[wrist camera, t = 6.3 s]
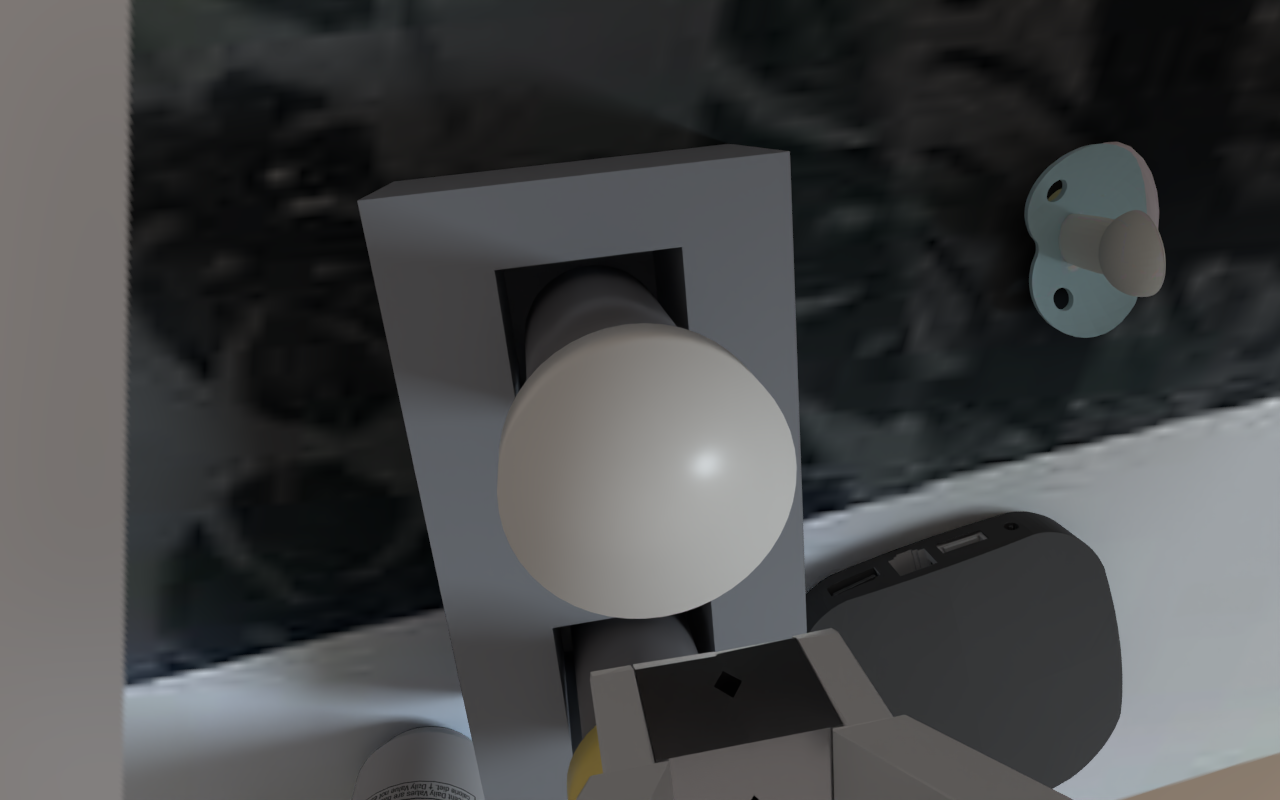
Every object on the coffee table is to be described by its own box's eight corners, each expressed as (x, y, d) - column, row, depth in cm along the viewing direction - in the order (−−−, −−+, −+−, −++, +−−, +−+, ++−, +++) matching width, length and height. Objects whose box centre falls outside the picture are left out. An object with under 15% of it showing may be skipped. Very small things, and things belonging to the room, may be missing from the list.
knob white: (674, 234, 25) (791, 322, 14) (688, 404, 27) (801, 592, 16) (491, 257, 25) (472, 365, 14) (519, 429, 26) (521, 640, 16)
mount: (729, 143, 30) (789, 151, 23) (759, 647, 37) (811, 761, 31) (394, 181, 28) (357, 200, 22) (494, 694, 36) (489, 823, 29)
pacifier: (1143, 116, 32) (1001, 157, 31) (1289, 115, 26) (1118, 165, 26) (1147, 295, 34) (1016, 335, 34) (1282, 330, 29) (1126, 379, 28)
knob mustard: (682, 520, 33) (761, 714, 22) (692, 636, 35) (770, 867, 24) (543, 542, 32) (556, 752, 22) (562, 659, 34) (582, 906, 24)
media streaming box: (831, 821, 42) (853, 872, 39) (762, 590, 37) (782, 630, 34) (1096, 725, 42) (1137, 768, 39) (1065, 484, 37) (1110, 514, 34)
